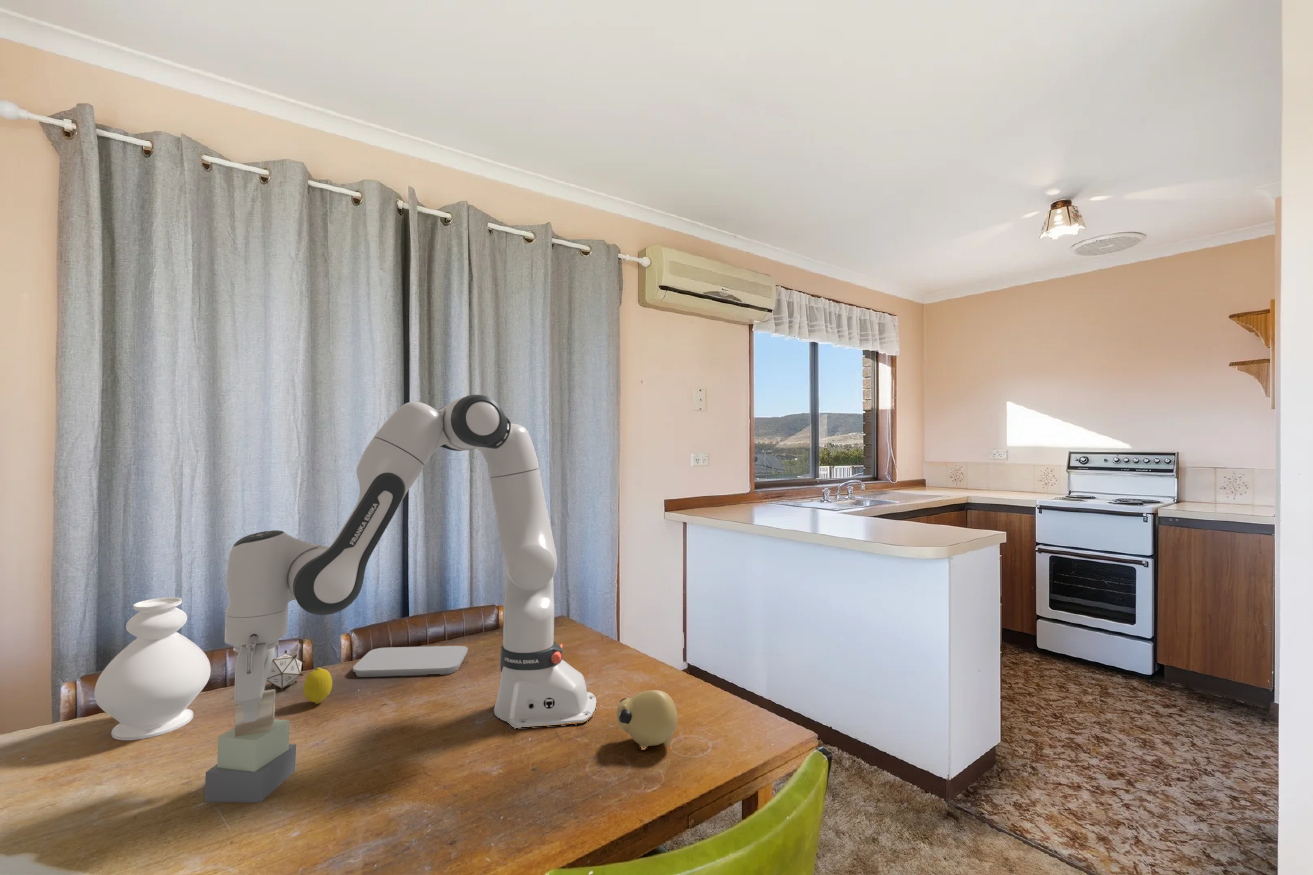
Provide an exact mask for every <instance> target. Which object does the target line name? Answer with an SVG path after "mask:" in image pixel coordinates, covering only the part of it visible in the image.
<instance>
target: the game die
mask: <svg viewBox="0 0 1313 875" xmlns="http://www.w3.org/2000/svg"><path fill="white" fill-rule="evenodd" d="M297 657H298V654H294V655H291V654H289V653H288V650H287V649H285V650H284V653H283V654H281V655H278V656H277V657H275V658H273V661H272V664H271V668H270V671H269V675H268V678H267V682H268V683H270V684H271V685H270V687H271V688H272V687H274V686H275V687H278V688H280V692H281V693H283V692H284V688H286V687H288V686H289V685H291V684H293V683H294V684H298V680H297V679H299V677H303V676H304V673H302V666H303V663H306V661H307V660H305V659H303V660H300V659H298V658H297Z"/></svg>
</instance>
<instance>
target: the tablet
mask: <svg viewBox="0 0 1313 875" xmlns="http://www.w3.org/2000/svg"><path fill="white" fill-rule="evenodd" d="M468 650H469V648H468V647H467V646H464V645H444V646H443V645H442V646H441V645H440V646H439V645H438V646H436V645H435V646H430V645H429V646H401V647H400V646H398V647H397V646H396V647H393V646H391V647H389V646H388V647H379V648H374V649H370V650H369V651H368V652H367V653H366V654H364V655H363V656H362V657H361V659H360V660H358V661H357V662H356V663H355V664H354V665H353V667H352V671H353V672H354V673H355V675H357V676H356V677H359V678H368V677H370V678H371V677H399V676H400V677H402V676H403V677H404V676H428V675H427V674H440V675H450V674H453V672H454V673H455V671H456V670H457V671H458V670H459V668H460V666H461V665H462V662H463V661H464V659H465V657H466V655H467V654H468V652H469V651H468ZM458 667H459V668H458ZM457 671H456V672H457Z"/></svg>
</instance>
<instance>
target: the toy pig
mask: <svg viewBox="0 0 1313 875" xmlns="http://www.w3.org/2000/svg"><path fill="white" fill-rule="evenodd" d="M616 723H617V725H618V726H619V728H620V729H621V730H622V731H624V732H626V733H628V735H629V736H630V738H631V739H632V740H633V741H634V742H635V743H637V744H638V745H639V748H640V747H643V748H645V747H648V746H649V747H653V746H654V747H655V746H658V745H661V744H663V745H664V746H670V745H671V743H672V735H673V734H674V733H675V730H676V728H677V725H678V713H677V707H676V705H675V702H674V700H673V698H672V697H671V696H670V695H669V694H668V693H667V692H665V691H663V690H660V689H659V690H658V689H657V690H656V689H652V690H645V691H641V692H639V693H637V694H635V695H633V696H632V697H628V696H626V697H624V698H622V699H621V700H620V701H619V704H618V705H617V709H616ZM649 747H648V748H649Z"/></svg>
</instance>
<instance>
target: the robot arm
mask: <svg viewBox="0 0 1313 875" xmlns="http://www.w3.org/2000/svg"><path fill="white" fill-rule="evenodd" d="M439 448H443V449H446V450H450V451H453V452H454V451H456V452H463V451H471V450H472V451H473V450H478V451H479V452H480V453H481V454H482V455H483V458H484V459H485V463H486V464H487V471H488V472H487V473H488V476H489V484H490V487H491V494H492V498H493V503H494V505H493V506H494V509H495V515H496V516H495V517H496V520H497V522H496V523H497V527H498V534H499V540H500V547H501V552H502V553H501V554H502V557H503V563H504V564H503V565H504V598H503V599H504V600H503V630H502V631H503V636H502V639H503V640H502V645H501V646H500V653H499V654H500V655H499V667H500V668H499V669H500V672H501V673H500V674H501V676H500V681H499V688H498V693H497V698H496V700H495V705H494V707H493V713H494V715H495V717H497V718H498V719H499V718H500V719H499V720H501V721H504V722H506V721H507V722H506V723H509V724H510V725H511V726H512V727H514V728H513V729H516V728H518V729H522V728H521V727H529V726H542V725H557V724H564V723H571V722H574V723H575V722H582V721H586V720H587V719H588V718H589V717H591V716H592V714H593V712H594V711H595V708H596V709H597V707H596V703H597V698H596V696H595V694H594V693H593V692H590V691H587V684H586V681H585V677H584V675H583V674H582V673H581V672H580V671H579V670H577V669H575V668H574V667H573V666H571V664H569V663H568V662H566V661H565V660H564V659H563V650H564V649H563V643H561V644H558V643H557V642H555V641H554V640H555V639H554V638H555V637H554V634H555V633H554V632H555V595H554V594H555V592H554V590H555V586H554V585H555V584H554V583H555V581H554V577H555V576H554V575H555V574H556V571H557V569H558V555H557V550H556V545H555V541H554V537H553V536H554V535H553V529H552V526H551V521H550V516H549V512H548V511H549V510H548V506H547V501H546V496H545V491H544V485H543V480H542V475H541V470H540V465H539V460H538V457H537V453H536V449H535V447H534V443H533V440H532V438H531V435H530V433H529V430H528V429H527V428H526V427H525V426H523V425H521V424H518V423H512V422H511V421H510V419H509V418H508V417H507V415H506V414H505V413H504V410H503V408H501V406H500V405H499V404H498V402H497V401H495V400H494V399H493V398H491V397H490V396H487V395H484V394H470V395H466V396H464V397H459V398H458V399H455V400H453V401H452V402H450V403H448V404H447V405H445V406H443V407H441V408H438V409H436V408H434V407H432V406H430V405H429V404H427V403H424V402H419V401H409V402H406V403H404V404H403V405H401V406H400V407H399V408H398V409H397V410H396V411H394V412H393V414H391V416H390V417H389V418H388V419H387V420H386V421H385V422H384V423H383V424H382V426H381V427H380V428H379V429H378V431H377V432H376V433H375V434H374V436H373V437H372V439H371V440H370V442H369V443H368V445H367V446H366V448H365V450H364V451H363V453H362V455H361V457H360V460H359V461H358V464H357V467H356V475H357V480H358V486H359V495H358V500H357V502H356V504H355V506H354V508H353V510H352V511H351V513H350V514H349V516H348V517H347V520H346V522H344V525H343V526H342V528H341V529H340V531H339V533H338V534H337V536H336V537H335V538H334V541H332V543H331V545H329V546H327V545H322V544H315V543H311V542H307V541H305V540H301V539H298V538H296V537H293V536H291V535H289V534H287V532H285V531H283V530H266V531H265V530H264V531H259V532H256V533H252V534H248V535H246V536H243V537H241V538H240V539H238V540H237V541H236V542H235V543H233V545H232V547H231V549H230V553H229V556H228V562H227V570H226V571H227V572H226V583H225V584H226V586H225V588H226V592H227V595H228V604H227V607H226V608H225V620H224V622H225V623H224V643H225V644H227V645H229V646H233V651H234V652H235V653H238V654H237V657H236V663H235V672H234V676H235V677H234V695H233V698H234V702H235V704H236V705H237V704H242V705H243V710H244V722H246V723H247V722H253V721H256V720H257V717H258V702H259V700H260V699H261V698H262V696H263V692H264V691H266V690H265V687H266V684H267V682H268V681H267V678H268V675H269V671H270V668H271V664H272V661H273V659H274V656H275V653H276V648H277V647H276V646H278V645H279V643H280V642H279V641H280V640H279V639H281V638H283V637H284V636H286V635H287V634H288V622H289V620H288V619H289V617H288V616H289V603H290V602H291V601H296V603H297V604H298V606H300V608H301V609H302V610H304V611H305V612H307V613H309V614H313V615H316V616H328V615H333V614H336V613H339V612H341V611H343V610H345V609H346V608H348V607H349V606H350V605H352V603H354V601H355V600H356V599H357V598H358V596H359V594H360V592H361V590H362V587H363V584H364V579H365V574H366V568H367V565H368V562H369V559H370V558H371V556H372V554H373V552H374V550H375V548H376V547H377V545H378V543H379V542H380V539H381V538H382V536H383V534H384V532H385V531H386V529H387V528H388V526H389V524H390V522H391V521H392V519H393V516H394V515H395V513H396V512H397V511H398V510H397V509H398V508H399V507H400V504H401V503H402V501H403V500H404V499H405V497H406V495H407V493H408V491H409V490H410V488H411V487H412V486H413V484H414V483H415V482H416V480H417V478H418V477H419V476H420V474H421V473H422V472H423V470H424V468H425V467H426V465H427V464H428V462H429V461H430V459H431V457H432V456H433V454H435V453H436V451H437V450H438V449H439ZM590 698H592V699H590ZM595 712H596V711H595ZM586 714H587V715H586ZM509 724H508V725H509ZM510 725H509V726H510ZM511 726H510V727H511ZM512 727H511V728H512Z"/></svg>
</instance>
